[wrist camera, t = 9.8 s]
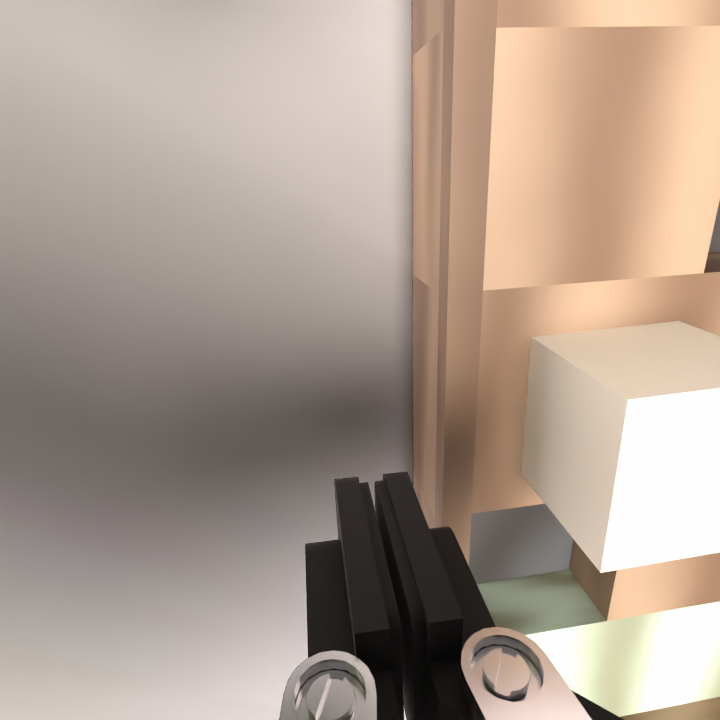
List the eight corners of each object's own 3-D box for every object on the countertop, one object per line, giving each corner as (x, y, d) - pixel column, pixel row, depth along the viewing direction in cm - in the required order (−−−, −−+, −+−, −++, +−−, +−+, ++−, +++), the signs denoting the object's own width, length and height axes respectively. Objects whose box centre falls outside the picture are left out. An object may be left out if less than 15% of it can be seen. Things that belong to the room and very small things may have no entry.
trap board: (413, 702, 25) (444, 823, 20) (411, -248, 12) (493, -513, 7) (695, 649, 27) (782, 748, 22) (950, -213, 14) (1281, -405, 9)
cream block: (521, 473, 17) (600, 572, 13) (531, 337, 15) (628, 400, 11) (653, 454, 17) (770, 543, 13) (679, 320, 15) (824, 374, 11)
